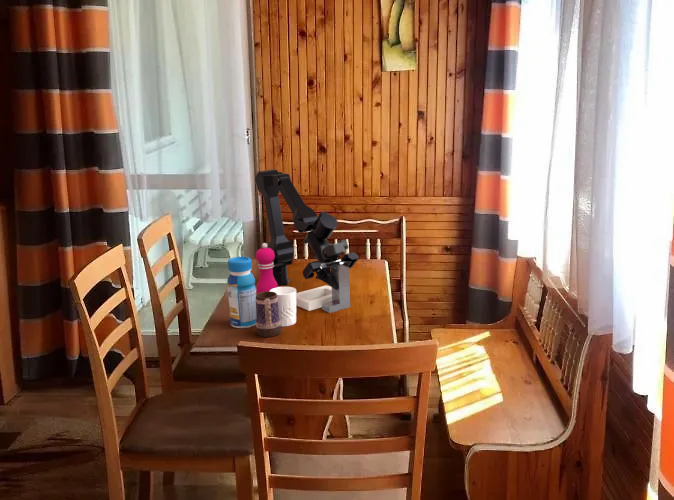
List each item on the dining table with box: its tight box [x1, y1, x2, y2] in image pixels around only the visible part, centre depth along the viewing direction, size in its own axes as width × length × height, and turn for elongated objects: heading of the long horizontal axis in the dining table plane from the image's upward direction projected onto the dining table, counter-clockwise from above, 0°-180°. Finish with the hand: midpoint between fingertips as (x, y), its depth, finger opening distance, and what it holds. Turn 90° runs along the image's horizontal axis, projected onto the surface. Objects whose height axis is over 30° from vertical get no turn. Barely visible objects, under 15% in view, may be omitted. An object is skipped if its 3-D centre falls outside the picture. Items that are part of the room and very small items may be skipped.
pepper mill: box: [255, 242, 279, 294], centre depth 237 cm, size 7×7×20 cm
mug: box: [255, 291, 282, 338], centre depth 211 cm, size 10×7×12 cm
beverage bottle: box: [226, 256, 257, 329], centre depth 219 cm, size 8×8×20 cm
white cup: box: [270, 286, 297, 327], centre depth 220 cm, size 8×8×10 cm
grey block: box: [321, 265, 351, 314], centre depth 231 cm, size 4×8×13 cm, turn 127°
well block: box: [296, 284, 332, 312], centre depth 239 cm, size 11×15×2 cm
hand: (343, 287), depth 231 cm, fingers closed on grey block, 4 cm apart
